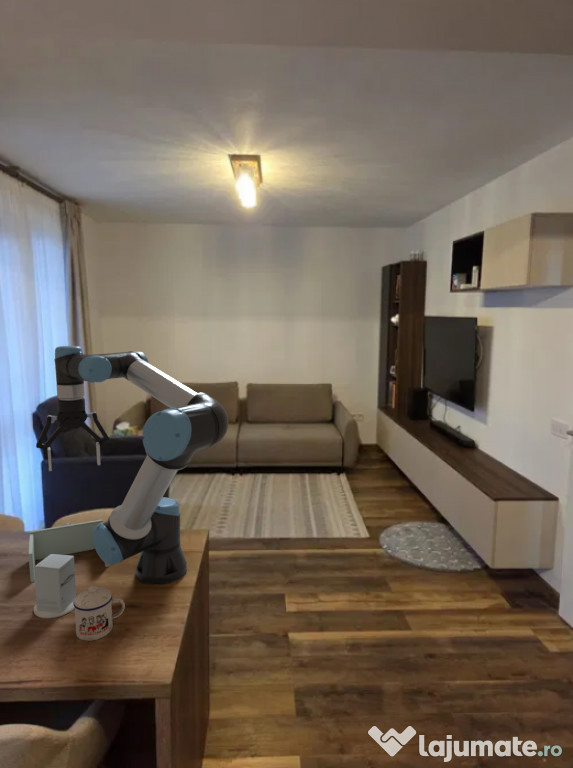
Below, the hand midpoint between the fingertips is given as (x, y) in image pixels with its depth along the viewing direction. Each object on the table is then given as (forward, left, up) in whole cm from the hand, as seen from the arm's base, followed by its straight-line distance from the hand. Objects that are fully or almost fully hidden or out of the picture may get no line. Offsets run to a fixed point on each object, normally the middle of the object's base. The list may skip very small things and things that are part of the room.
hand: (75, 466), depth 151 cm
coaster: (-5, +20, -33) cm, 39 cm away
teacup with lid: (-22, +27, -33) cm, 48 cm away
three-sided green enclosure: (+5, -2, -33) cm, 33 cm away
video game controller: (+17, -16, -33) cm, 40 cm away
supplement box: (-5, +20, -32) cm, 38 cm away
